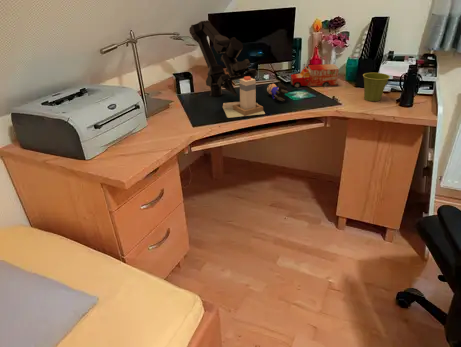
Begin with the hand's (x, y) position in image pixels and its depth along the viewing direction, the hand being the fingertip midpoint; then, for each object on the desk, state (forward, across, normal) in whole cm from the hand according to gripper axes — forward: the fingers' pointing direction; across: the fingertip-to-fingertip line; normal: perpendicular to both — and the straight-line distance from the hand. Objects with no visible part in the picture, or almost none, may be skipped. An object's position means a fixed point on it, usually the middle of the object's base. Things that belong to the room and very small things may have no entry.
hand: (245, 93), depth 157 cm
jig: (+6, -2, +5) cm, 8 cm away
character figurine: (+3, +22, +10) cm, 24 cm away
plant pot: (+22, +58, -11) cm, 63 cm away
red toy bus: (-2, +52, +15) cm, 54 cm away
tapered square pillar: (+6, 0, +4) cm, 7 cm away
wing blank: (+1, -3, +10) cm, 10 cm away
